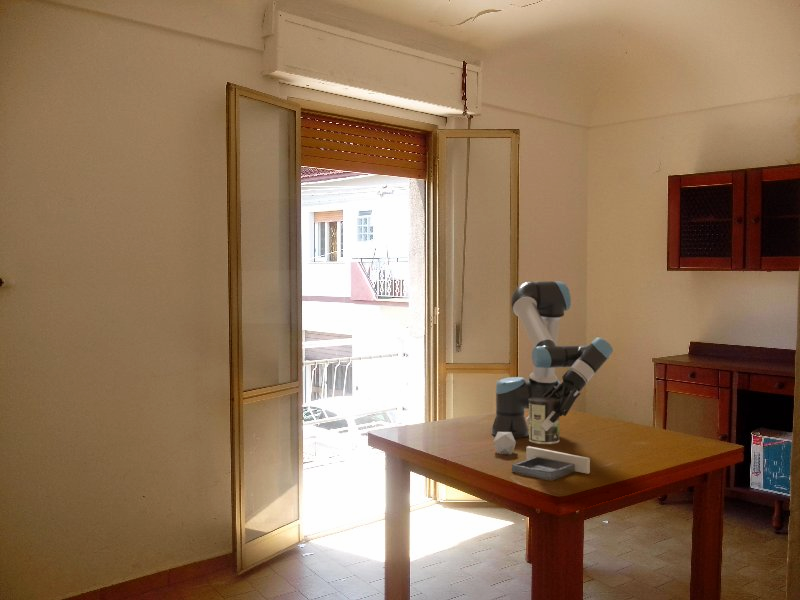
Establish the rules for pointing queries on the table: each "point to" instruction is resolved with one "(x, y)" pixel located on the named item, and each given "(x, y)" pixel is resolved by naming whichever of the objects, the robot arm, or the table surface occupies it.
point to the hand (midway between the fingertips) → (535, 425)
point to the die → (504, 442)
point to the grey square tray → (543, 468)
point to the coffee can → (542, 420)
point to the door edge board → (560, 458)
